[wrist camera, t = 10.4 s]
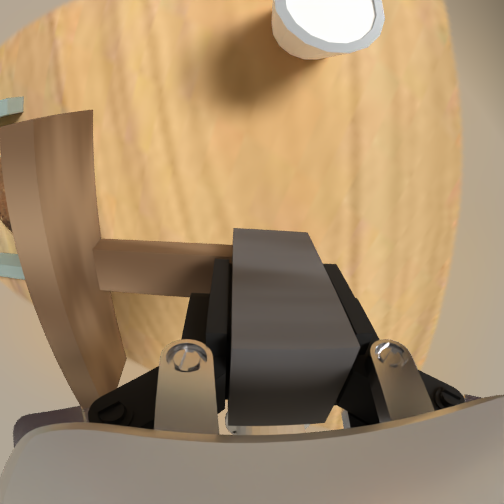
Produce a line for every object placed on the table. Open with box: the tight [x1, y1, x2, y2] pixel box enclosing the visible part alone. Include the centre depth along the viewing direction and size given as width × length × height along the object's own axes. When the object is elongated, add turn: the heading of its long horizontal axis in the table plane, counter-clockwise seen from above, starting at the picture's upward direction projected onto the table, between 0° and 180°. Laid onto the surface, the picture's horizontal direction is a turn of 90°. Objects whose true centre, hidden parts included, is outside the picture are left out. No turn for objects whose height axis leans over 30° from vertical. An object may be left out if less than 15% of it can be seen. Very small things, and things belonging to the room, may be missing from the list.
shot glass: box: [272, 0, 385, 60], centre depth 15 cm, size 7×7×7 cm
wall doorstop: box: [0, 110, 360, 426], centre depth 10 cm, size 13×10×6 cm
